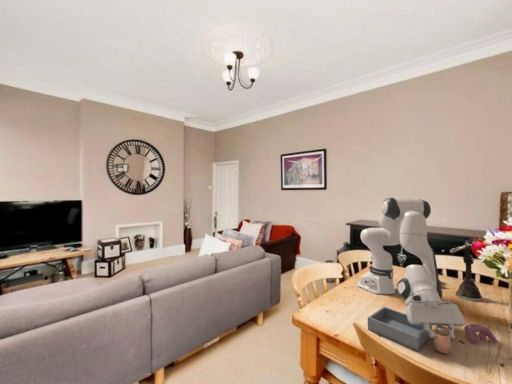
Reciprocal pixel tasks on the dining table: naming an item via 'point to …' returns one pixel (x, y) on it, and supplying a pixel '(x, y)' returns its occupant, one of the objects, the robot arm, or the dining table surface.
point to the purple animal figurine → (482, 331)
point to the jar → (442, 339)
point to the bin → (398, 328)
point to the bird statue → (467, 276)
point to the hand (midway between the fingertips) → (442, 337)
